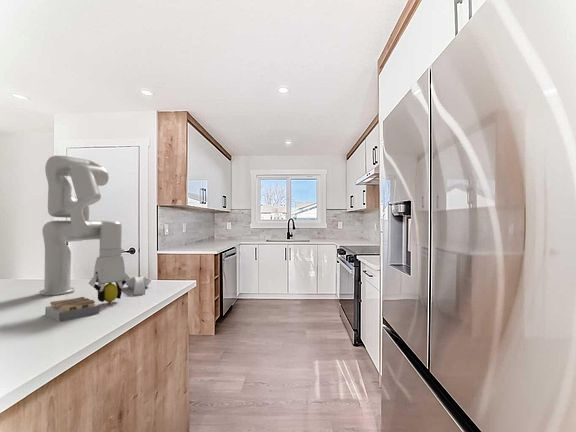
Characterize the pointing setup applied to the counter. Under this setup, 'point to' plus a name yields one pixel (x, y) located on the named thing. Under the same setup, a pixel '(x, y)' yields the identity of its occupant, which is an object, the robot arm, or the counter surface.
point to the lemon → (110, 292)
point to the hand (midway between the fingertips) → (109, 299)
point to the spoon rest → (138, 284)
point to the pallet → (72, 304)
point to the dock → (71, 312)
